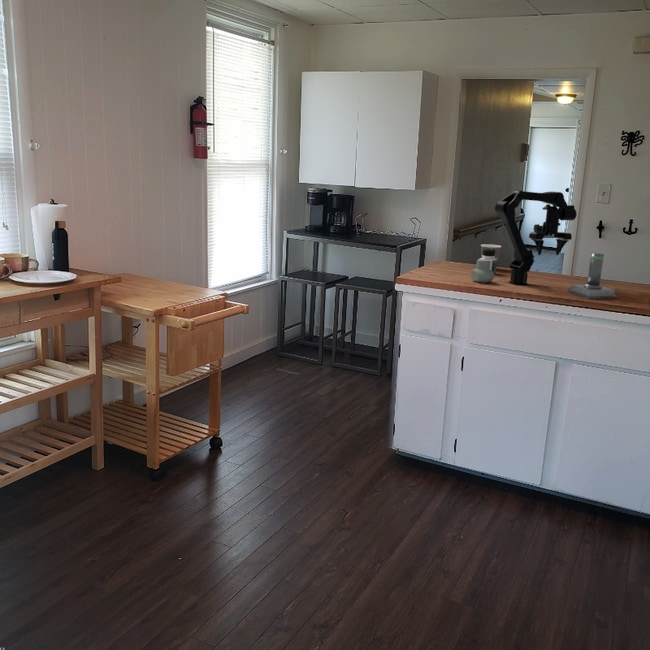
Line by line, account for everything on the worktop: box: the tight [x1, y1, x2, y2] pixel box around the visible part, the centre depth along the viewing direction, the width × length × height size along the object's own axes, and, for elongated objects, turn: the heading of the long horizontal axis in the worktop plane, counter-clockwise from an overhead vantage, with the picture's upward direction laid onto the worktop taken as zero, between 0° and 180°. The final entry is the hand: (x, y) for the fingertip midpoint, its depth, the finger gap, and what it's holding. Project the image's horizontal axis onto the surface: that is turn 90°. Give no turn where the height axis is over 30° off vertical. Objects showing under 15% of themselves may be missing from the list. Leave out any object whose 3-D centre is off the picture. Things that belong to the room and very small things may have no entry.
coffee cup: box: [480, 243, 502, 264], centre depth 342 cm, size 10×10×12 cm
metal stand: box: [567, 284, 618, 300], centre depth 283 cm, size 14×14×4 cm
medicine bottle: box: [479, 248, 498, 274], centre depth 329 cm, size 7×7×12 cm
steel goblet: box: [583, 252, 605, 289], centre depth 281 cm, size 7×7×14 cm
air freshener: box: [470, 258, 496, 284], centre depth 304 cm, size 11×8×10 cm
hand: (548, 255), depth 305 cm, fingers open, 9 cm apart
